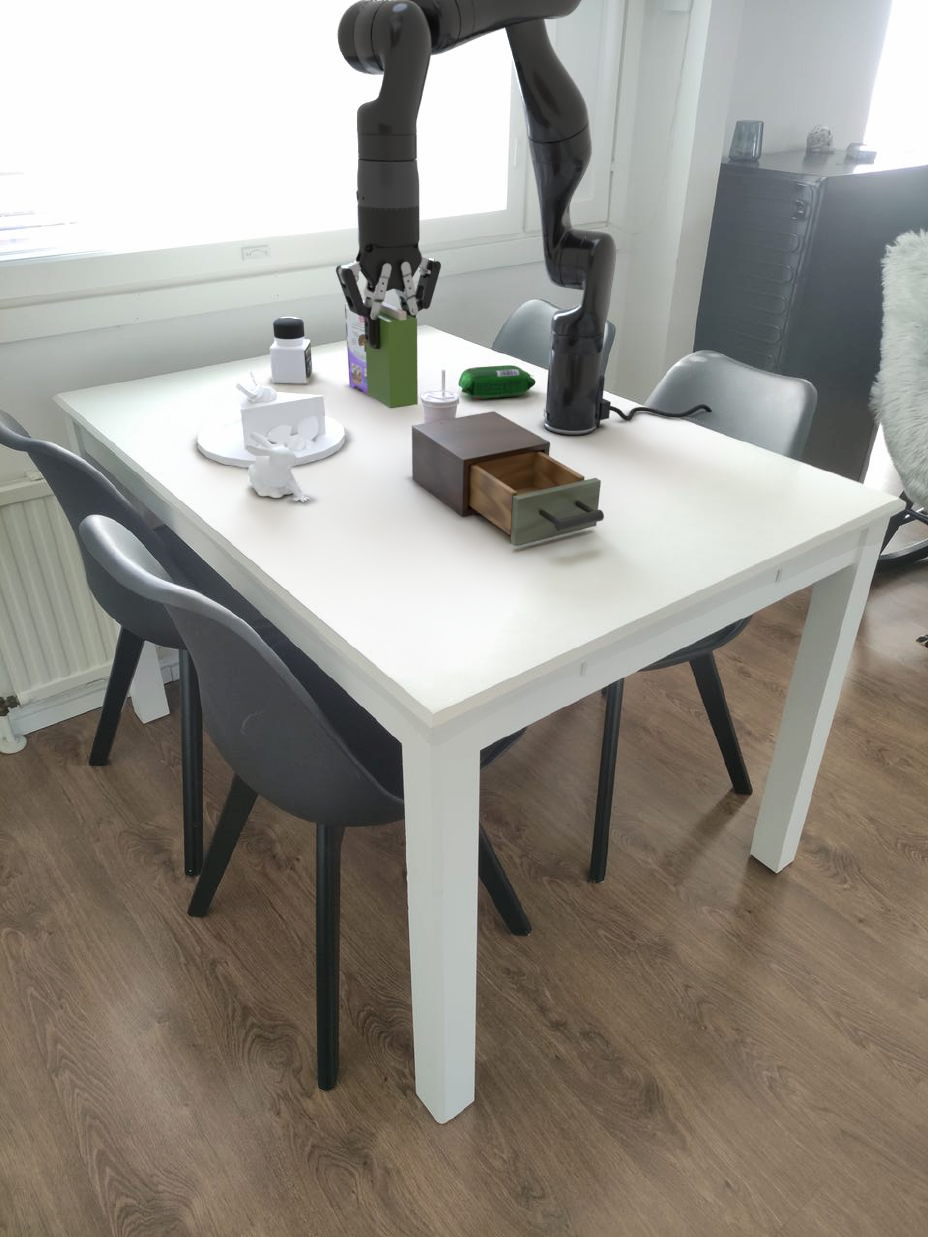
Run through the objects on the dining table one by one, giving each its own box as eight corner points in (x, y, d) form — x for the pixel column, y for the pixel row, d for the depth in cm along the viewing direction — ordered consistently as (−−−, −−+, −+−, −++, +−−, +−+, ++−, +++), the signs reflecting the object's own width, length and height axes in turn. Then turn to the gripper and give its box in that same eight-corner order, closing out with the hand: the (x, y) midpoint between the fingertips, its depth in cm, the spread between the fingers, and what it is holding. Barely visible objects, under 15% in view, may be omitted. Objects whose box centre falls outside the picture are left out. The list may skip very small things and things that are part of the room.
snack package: (539, 398, 180) (541, 371, 177) (462, 402, 177) (463, 375, 174) (528, 387, 186) (530, 361, 183) (454, 391, 182) (454, 365, 180)
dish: (196, 472, 145) (186, 403, 139) (201, 420, 166) (192, 357, 160) (351, 463, 149) (348, 395, 143) (337, 413, 170) (334, 352, 164)
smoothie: (454, 460, 151) (455, 376, 144) (416, 457, 152) (415, 373, 145) (462, 447, 156) (463, 365, 149) (425, 443, 157) (425, 362, 150)
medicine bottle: (307, 384, 185) (302, 323, 178) (272, 383, 185) (266, 322, 178) (312, 373, 191) (308, 314, 185) (278, 373, 191) (273, 314, 185)
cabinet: (546, 497, 139) (550, 442, 134) (462, 516, 133) (463, 459, 128) (492, 462, 151) (493, 410, 146) (412, 479, 144) (411, 425, 140)
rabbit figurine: (311, 501, 136) (306, 439, 131) (264, 513, 133) (257, 450, 127) (275, 475, 145) (270, 415, 139) (230, 485, 141) (223, 425, 136)
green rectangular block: (367, 393, 123) (364, 302, 117) (393, 389, 125) (391, 299, 119) (390, 408, 118) (388, 313, 112) (417, 404, 120) (417, 310, 114)
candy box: (412, 397, 179) (411, 311, 170) (388, 403, 175) (385, 315, 167) (371, 380, 187) (368, 297, 179) (347, 386, 184) (343, 301, 176)
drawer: (620, 541, 125) (625, 494, 121) (537, 563, 119) (540, 515, 115) (538, 489, 139) (541, 446, 136) (461, 506, 133) (462, 462, 130)
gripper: (346, 207, 103) (352, 359, 112) (455, 201, 110) (453, 346, 118) (320, 199, 109) (328, 345, 118) (425, 194, 115) (425, 333, 124)
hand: (391, 344), depth 118 cm, fingers closed on green rectangular block, 4 cm apart
